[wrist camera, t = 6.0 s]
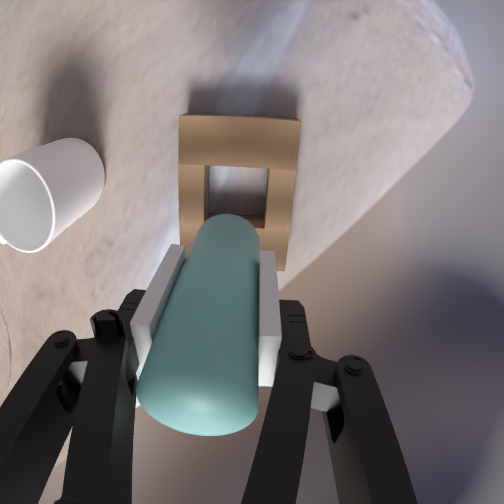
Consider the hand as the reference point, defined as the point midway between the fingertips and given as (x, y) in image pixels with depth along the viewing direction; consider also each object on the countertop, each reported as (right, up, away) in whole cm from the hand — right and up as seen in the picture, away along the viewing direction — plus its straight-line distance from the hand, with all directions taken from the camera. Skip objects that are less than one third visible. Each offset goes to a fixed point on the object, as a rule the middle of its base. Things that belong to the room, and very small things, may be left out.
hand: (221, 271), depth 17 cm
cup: (-19, +8, +14) cm, 24 cm away
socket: (0, +7, +13) cm, 15 cm away
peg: (0, +1, +3) cm, 3 cm away
